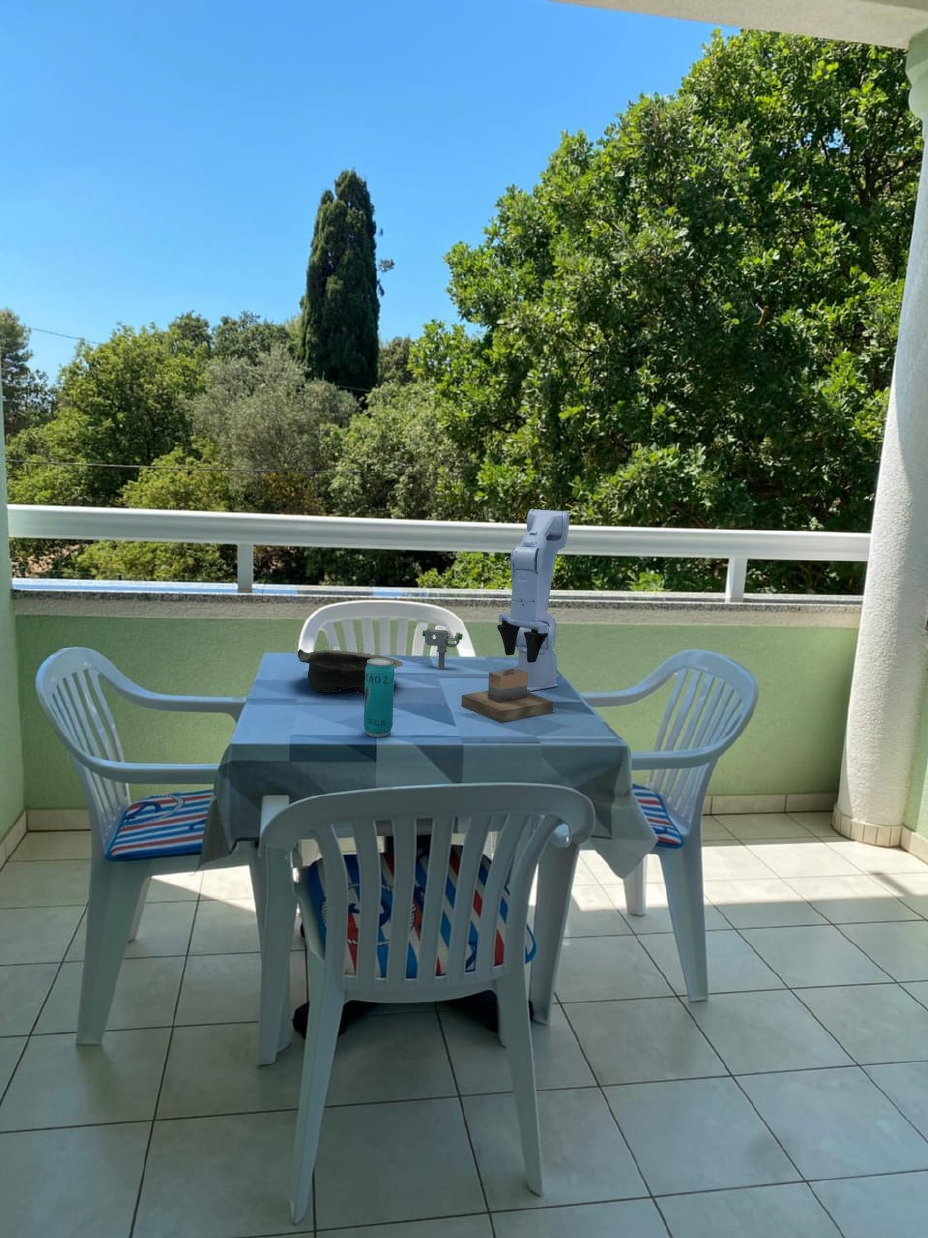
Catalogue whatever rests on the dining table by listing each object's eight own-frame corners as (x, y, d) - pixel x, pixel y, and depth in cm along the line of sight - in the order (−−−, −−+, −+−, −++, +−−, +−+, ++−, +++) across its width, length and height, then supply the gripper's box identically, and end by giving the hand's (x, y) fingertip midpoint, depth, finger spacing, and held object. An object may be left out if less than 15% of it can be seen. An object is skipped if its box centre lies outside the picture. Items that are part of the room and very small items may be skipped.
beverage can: (364, 728, 185) (365, 657, 182) (392, 729, 186) (394, 658, 183) (363, 738, 180) (365, 664, 177) (392, 738, 180) (394, 665, 177)
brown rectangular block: (515, 693, 207) (516, 668, 206) (526, 698, 204) (528, 672, 203) (487, 698, 202) (489, 672, 201) (499, 703, 199) (500, 676, 198)
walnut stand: (512, 696, 213) (512, 686, 213) (552, 712, 203) (553, 701, 202) (461, 705, 204) (461, 695, 204) (501, 722, 193) (501, 711, 193)
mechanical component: (459, 671, 234) (460, 634, 232) (420, 668, 236) (421, 630, 234) (461, 669, 237) (463, 631, 235) (423, 665, 238) (424, 628, 236)
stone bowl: (289, 699, 203) (290, 658, 202) (305, 678, 228) (305, 641, 227) (400, 701, 204) (401, 660, 203) (404, 680, 229) (404, 643, 227)
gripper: (490, 595, 208) (487, 653, 210) (532, 606, 196) (528, 667, 199) (513, 593, 212) (510, 650, 215) (556, 604, 201) (552, 663, 203)
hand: (520, 658), depth 207 cm, fingers open, 7 cm apart
